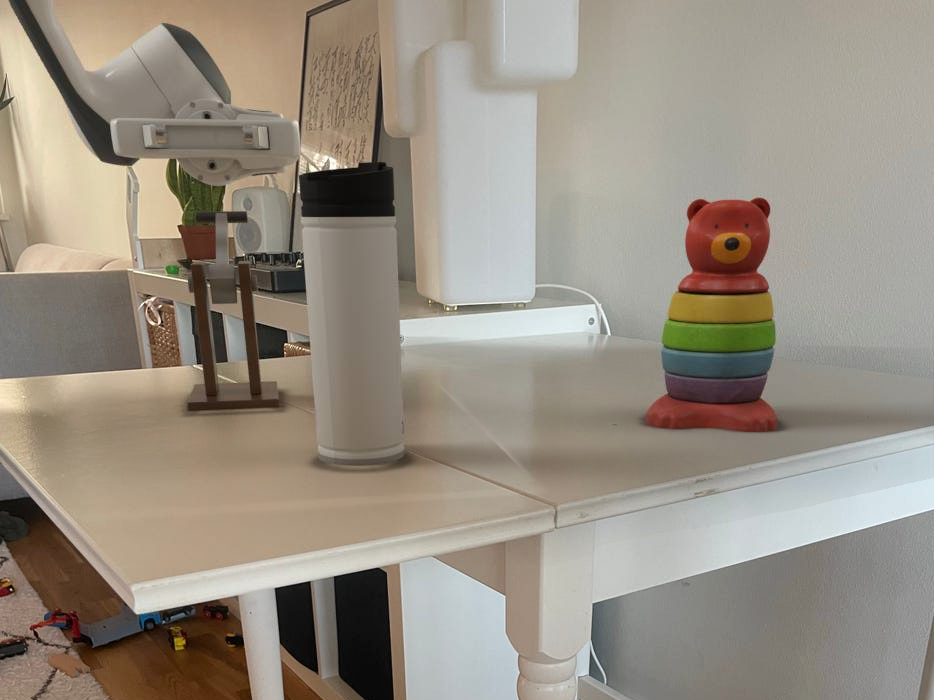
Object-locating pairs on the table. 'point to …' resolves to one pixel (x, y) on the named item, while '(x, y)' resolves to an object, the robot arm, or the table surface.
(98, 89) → the robot arm
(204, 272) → the brown wooden stand
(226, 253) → the lever
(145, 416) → the table surface
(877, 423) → the table surface
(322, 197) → the travel mug
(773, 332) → the stacking bear
